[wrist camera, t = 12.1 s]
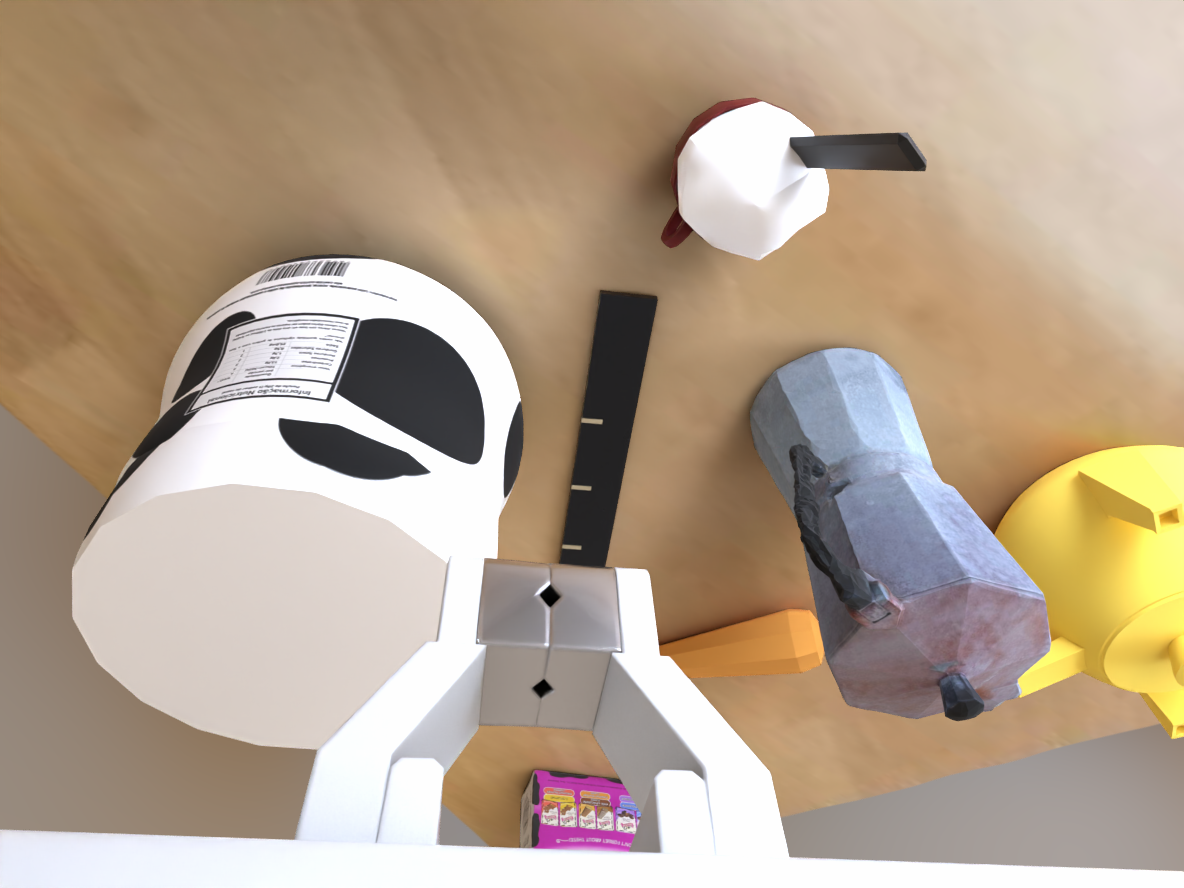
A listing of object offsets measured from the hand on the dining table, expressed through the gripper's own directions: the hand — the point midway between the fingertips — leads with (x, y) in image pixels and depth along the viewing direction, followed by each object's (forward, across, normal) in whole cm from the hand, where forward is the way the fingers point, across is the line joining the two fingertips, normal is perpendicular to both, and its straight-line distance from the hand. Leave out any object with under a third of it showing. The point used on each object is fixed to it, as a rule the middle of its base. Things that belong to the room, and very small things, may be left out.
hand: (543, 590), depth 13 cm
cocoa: (+31, -9, +2) cm, 32 cm away
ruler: (+30, -5, +23) cm, 38 cm away
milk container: (+30, +8, +17) cm, 36 cm away
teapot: (+30, -38, +23) cm, 54 cm away
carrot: (+30, -14, +37) cm, 50 cm away
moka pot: (+30, -17, +16) cm, 39 cm away
